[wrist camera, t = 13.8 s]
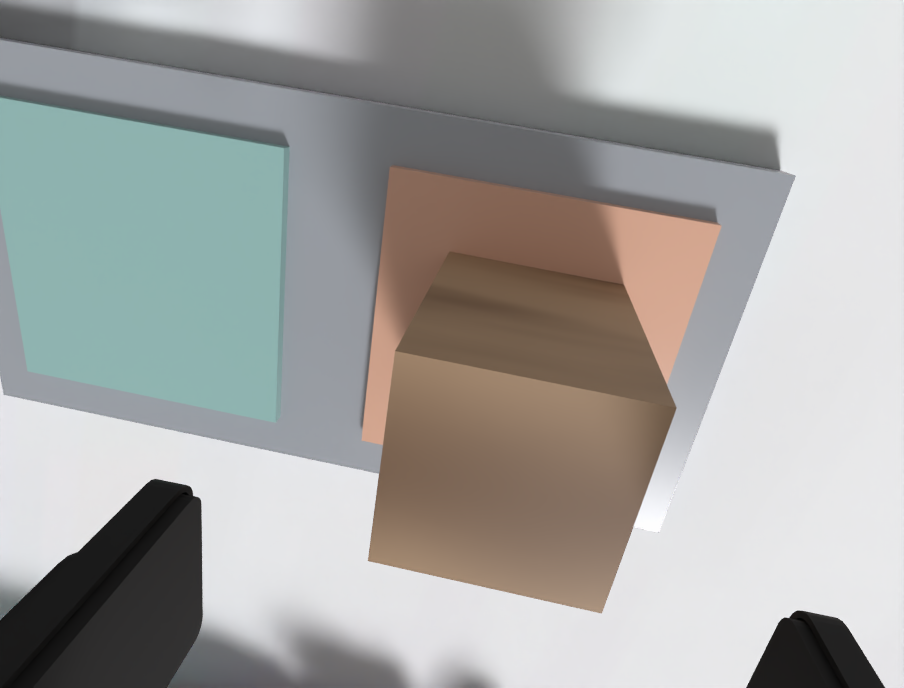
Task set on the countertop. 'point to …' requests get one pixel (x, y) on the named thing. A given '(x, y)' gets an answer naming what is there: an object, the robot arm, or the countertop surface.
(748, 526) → the countertop surface
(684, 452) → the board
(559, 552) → the walnut block
